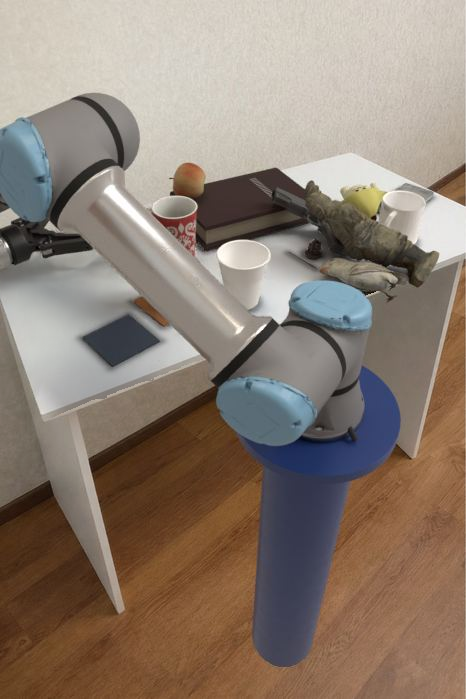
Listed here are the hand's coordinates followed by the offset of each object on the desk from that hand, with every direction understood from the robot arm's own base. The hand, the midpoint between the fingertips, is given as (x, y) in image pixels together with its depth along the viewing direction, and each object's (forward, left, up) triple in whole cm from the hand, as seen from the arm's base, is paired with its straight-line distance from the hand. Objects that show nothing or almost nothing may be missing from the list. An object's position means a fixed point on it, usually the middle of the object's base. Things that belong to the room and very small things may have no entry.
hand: (97, 213), depth 126 cm
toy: (-24, -56, -5) cm, 61 cm away
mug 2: (-42, -49, -7) cm, 65 cm away
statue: (-56, -41, -5) cm, 70 cm away
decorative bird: (-57, -29, -4) cm, 64 cm away
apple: (-9, -23, +2) cm, 24 cm away
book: (-13, -31, -7) cm, 34 cm away
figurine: (-35, -31, -7) cm, 47 cm away
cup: (-37, -9, -7) cm, 39 cm away
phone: (-34, -65, -7) cm, 74 cm away
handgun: (-35, -30, -2) cm, 46 cm away
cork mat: (-28, +2, -7) cm, 29 cm away
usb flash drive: (0, -14, -6) cm, 15 cm away
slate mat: (-31, +15, -7) cm, 35 cm away
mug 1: (-17, -8, -7) cm, 20 cm away
